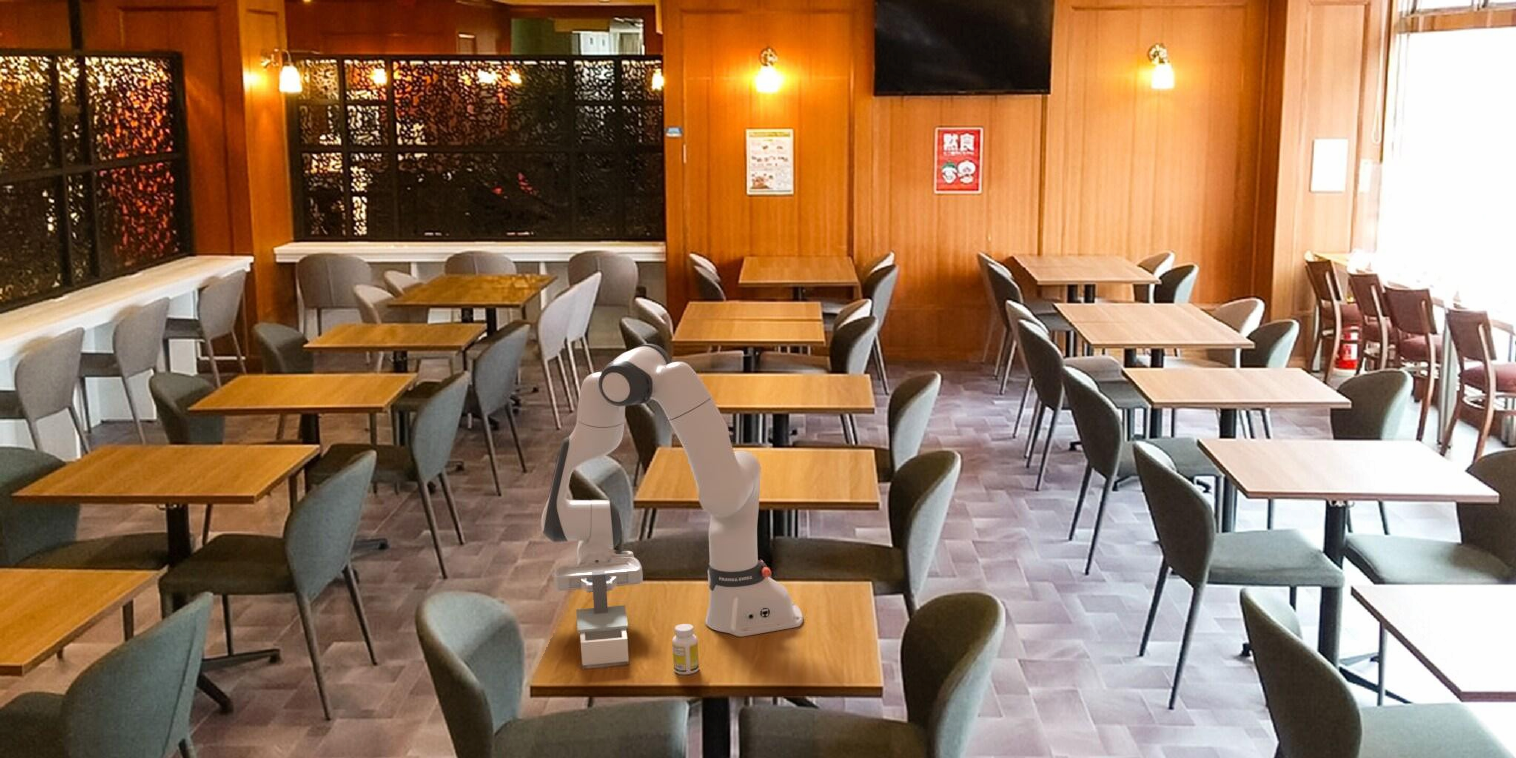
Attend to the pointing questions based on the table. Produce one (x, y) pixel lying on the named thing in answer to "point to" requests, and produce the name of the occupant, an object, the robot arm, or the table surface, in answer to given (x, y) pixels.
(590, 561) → the robot arm
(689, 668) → the supplement bottle
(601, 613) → the carton lid
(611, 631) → the carton
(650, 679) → the table surface
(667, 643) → the table surface
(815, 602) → the table surface
